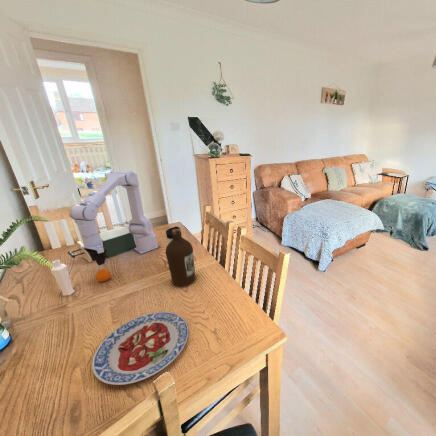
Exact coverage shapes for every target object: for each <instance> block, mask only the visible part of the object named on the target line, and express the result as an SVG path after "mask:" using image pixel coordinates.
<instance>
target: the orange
mask: <svg viewBox="0 0 436 436" xmlns="http://www.w3.org/2000/svg"><path fill="white" fill-rule="evenodd" d="M111 275H112V274H111V271H110V270H109V269H105V268H104V269H103V268H102V269H100V270H98V271H97V272H96V273H95V279H96V281H98V282H102V283H103V282H107V281H108V280H110V278H111Z"/></svg>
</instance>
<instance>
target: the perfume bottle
mask: <svg viewBox="0 0 436 436" xmlns="http://www.w3.org/2000/svg"><path fill="white" fill-rule="evenodd" d="M52 264H53V267H52V268H51V269H50V272H51V274H52V276H53V277H54V280H55V281H56V283H57V285H58V286H59V288H60V291H61V292H62V296H63V297H65V296H70V295H72V294H73V293H75V292H76V291H75V289H74V288H73V284H72V280H71V276H70V272H69V269H68V266H67V265H66V264H64V263H61V260H60V259H56V260H53V261H52ZM54 266H55V267H54Z"/></svg>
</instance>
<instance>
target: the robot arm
mask: <svg viewBox="0 0 436 436" xmlns="http://www.w3.org/2000/svg"><path fill="white" fill-rule="evenodd" d="M139 183H140V182H139V177H138V174H137V173H136V172H134V171H132V170H115V169H112V170H110V171H109V172H108V173H107V174H106V180H105V181H103V183H102V184H101V185H100V186H99V188H98V189H97V190H96V191H90V192H89V193H88V195H87V196H85V198H84V199H83V200H81V202H80V203H79V204H76V205H75V204H74V205H73V206H72V207H71V208H70V210H69V214H68V215H69V217H70V219H71V220H73V221H74V223H75V224H76V226H77V228H78V231H79V235H80V238H81V241H82V243H83V244H84V245H82V246H80V247H81V248H82V249H85V250H86V251H87V252H88V254H89V255H90V257H91V259H92V262H95V263H96V264H97V265H98V266H102V265H105V263H106V256H105V254H106V251H107V249H106V248H103V242H102V240H101V237H100V234H99V233H100V230H99V227H98V224H97V221H96V218H97V216H98V212H99V210H100V208H101V207H102V206H103V204H105V202H106V201H107V198H106V196H107V195H109V194H111V192H112V191H113V190H114V189H116V188H117V187H120V186H121V187H122V188H124V189H126V195H127V200H128V204H129V205H128V206H129V209H130V214H131V218H130V219H129V221H128V228H127V229H128V230H129V232H130V233H131V234H133V236H134V239H135V244H136V248H134V249H133V250H134V251H136V252H138V253H139V254H140V255H141V254H142V255H143V254H144V253H148V252H150V251H153V250H155V249H158V248H159V243H158V239H157V234H155V232H154V231H153V229H154V227H153V224H152V223H151V220H150V219H149V218H147V217H146V216H145V214H144V207H143V202H142V198H141V197H142V196H141V192H140V184H139Z"/></svg>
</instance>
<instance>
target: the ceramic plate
mask: <svg viewBox="0 0 436 436" xmlns="http://www.w3.org/2000/svg"><path fill="white" fill-rule="evenodd" d="M188 339H189V326H188V323H187V321H186V320H185V319H184V318H183V317H182V316H180V315H179V314H177V313H173V312H169V311H155V312H151V313H146V314H143V315H140V316H137V317H135V318H132V319H131V320H128V321H126V322H125V323H123V324H121V325H120V326H118V327H117V328H115V330H113V331H112V332H111V333H109V334H108V335H107V336H106V337H105V338H104V339H103V340H102V342H101V343H100V344H99V346H98V347H97V349H96V351H94V352H95V353H94V355H93V358H92V362H91V368H92V373H93V374H94V376H95V377H96V379H98V380H99V381H100V382H102V383H105V384H106V385H113V386H125V385H131V384H134V383H138V382H141V381H143V380H146V379H148V378H150V377H152V376H154V375H156V374H158V373H159V372H161V371H162V370H164V369H165V368H167V367H168V366H169V365H170V364H171V363H172V362H173V361H174V360H175V359H176V358H177V357H178V356H179V355H180V354H181V352H182V350H183V349H184V348H185V346H186V343H187V341H188Z"/></svg>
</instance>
